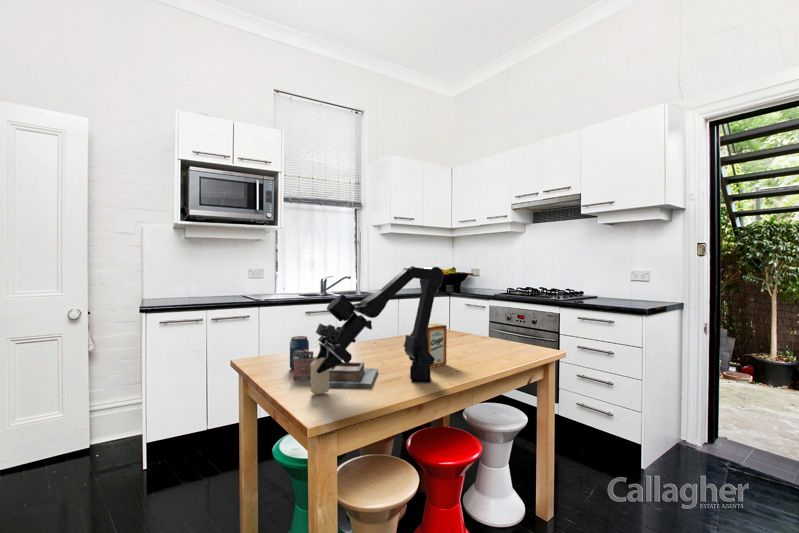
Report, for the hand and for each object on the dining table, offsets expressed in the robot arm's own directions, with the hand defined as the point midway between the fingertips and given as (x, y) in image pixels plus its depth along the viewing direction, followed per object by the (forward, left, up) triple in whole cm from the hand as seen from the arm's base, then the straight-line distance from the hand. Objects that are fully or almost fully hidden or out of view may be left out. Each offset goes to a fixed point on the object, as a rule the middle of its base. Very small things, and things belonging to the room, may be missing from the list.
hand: (315, 370), depth 121 cm
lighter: (+8, -16, -8) cm, 19 cm away
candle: (-1, -1, -7) cm, 7 cm away
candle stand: (-6, -17, -8) cm, 19 cm away
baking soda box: (-36, -39, -8) cm, 53 cm away
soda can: (+14, -28, -8) cm, 32 cm away
